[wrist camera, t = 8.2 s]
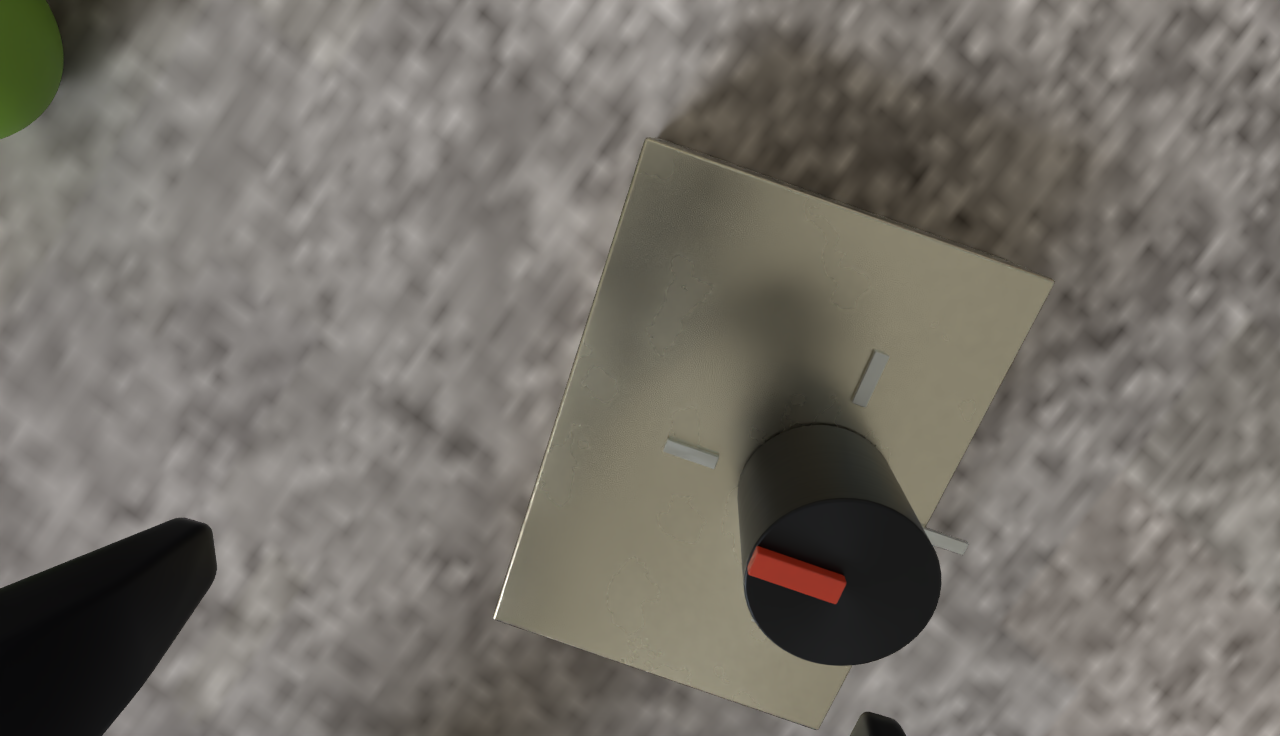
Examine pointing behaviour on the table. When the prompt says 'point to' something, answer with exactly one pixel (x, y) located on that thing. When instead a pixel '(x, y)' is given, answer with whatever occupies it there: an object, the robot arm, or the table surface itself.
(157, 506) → the table surface
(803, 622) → the knob
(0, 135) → the snail figurine
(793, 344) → the silver flat block
